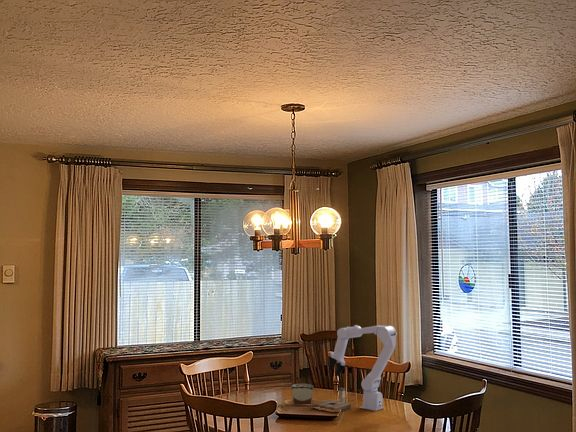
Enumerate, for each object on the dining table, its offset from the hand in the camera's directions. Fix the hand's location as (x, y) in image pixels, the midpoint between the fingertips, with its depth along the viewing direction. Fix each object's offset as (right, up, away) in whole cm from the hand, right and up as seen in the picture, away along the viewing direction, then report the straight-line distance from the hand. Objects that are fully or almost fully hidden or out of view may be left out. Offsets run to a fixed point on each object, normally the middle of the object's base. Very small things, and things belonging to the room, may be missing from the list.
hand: (333, 373), depth 326 cm
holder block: (-2, -14, -18) cm, 23 cm away
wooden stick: (+4, -15, -5) cm, 16 cm away
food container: (-17, -15, -7) cm, 24 cm away
